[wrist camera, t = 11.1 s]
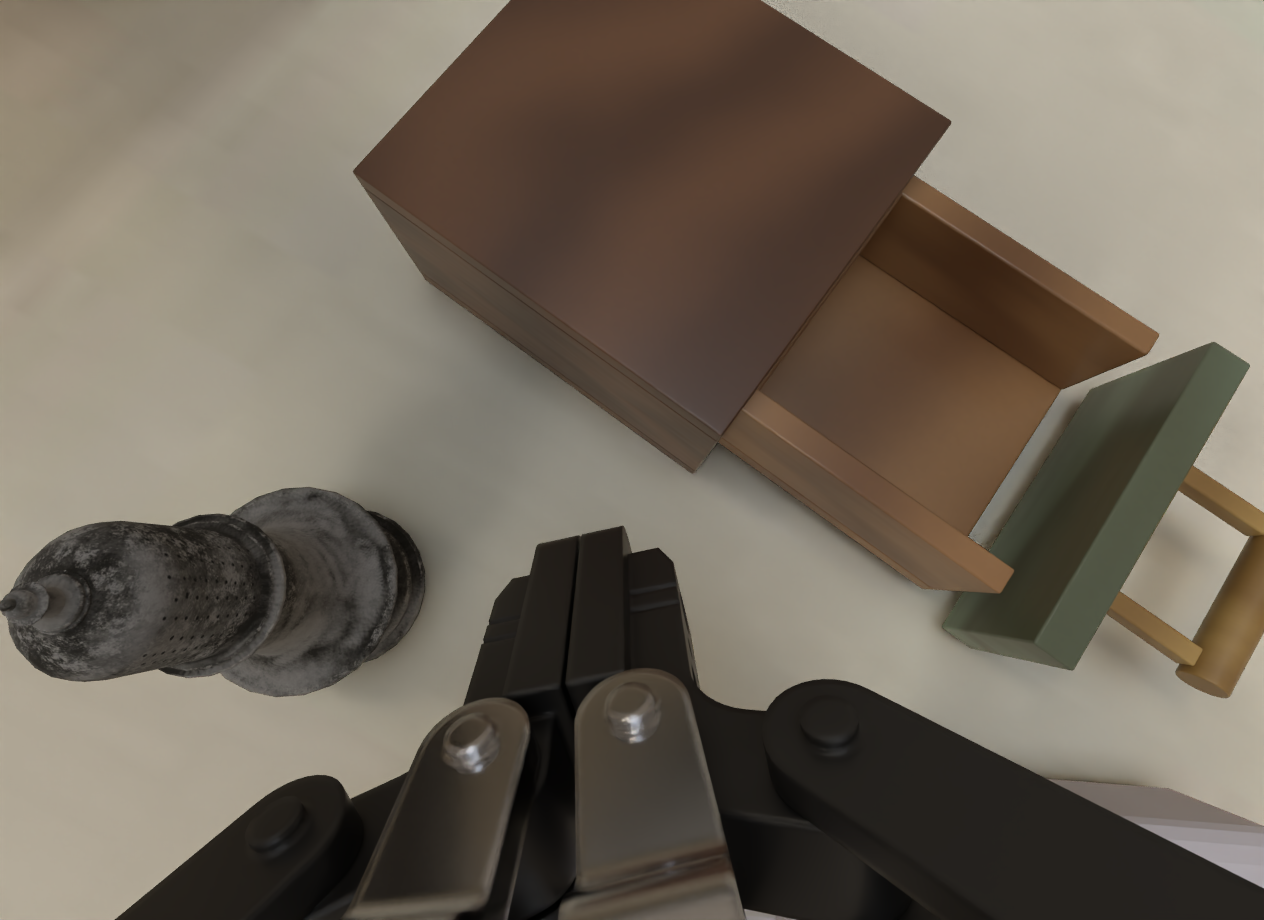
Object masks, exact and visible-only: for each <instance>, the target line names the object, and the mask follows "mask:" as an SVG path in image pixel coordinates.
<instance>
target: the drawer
mask: <svg viewBox="0 0 1264 920" xmlns="http://www.w3.org/2000/svg"><path fill="white" fill-rule="evenodd" d="M1158 337H1159V334H1158V333H1157V332H1156V331H1154V330H1152V329H1151V328H1149V327H1148V326H1146V325H1145V324H1143V323H1142V322H1140V321H1139V320H1137V319H1135V318H1134V317H1132V316H1131V315H1129V314H1128V313H1126V312H1125V311H1123V310H1122V309H1120V308H1118V307H1117V306H1115V305H1114V304H1112V303H1111V302H1109V301H1108V300H1106V299H1105V298H1103V297H1101V296H1100V295H1098V294H1097V293H1095V292H1094V291H1092V290H1091V289H1089V288H1088V287H1086V286H1084V285H1083V284H1081V283H1080V282H1078V281H1077V280H1075V279H1074V278H1072V277H1071V276H1069V275H1067V274H1066V273H1064V272H1063V271H1061V270H1060V269H1058V268H1057V267H1055V266H1054V265H1052V264H1050V263H1049V262H1047V261H1046V260H1044V259H1043V258H1041V257H1040V256H1038V255H1037V254H1035V253H1033V252H1032V251H1030V250H1029V249H1027V248H1026V247H1024V246H1023V245H1021V244H1020V243H1018V242H1016V241H1015V240H1013V239H1012V238H1010V237H1009V236H1007V235H1006V234H1004V233H1003V232H1001V231H999V230H998V229H996V228H995V227H993V226H992V225H990V224H989V223H987V222H986V221H984V220H982V219H981V218H979V217H978V216H976V215H975V214H973V213H972V212H970V211H969V210H967V209H965V208H964V207H962V206H961V205H959V204H958V203H956V202H955V201H953V200H952V199H950V198H948V197H947V196H945V195H944V194H942V193H941V192H939V191H938V190H936V189H935V188H933V187H931V186H930V185H928V184H927V183H925V182H924V181H922V180H921V179H919V178H918V177H916V176H914V175H913V177H912V178H911V179H910V181H909V182H908V183H907V185H906V186H905V187H904V189H903V190H902V192H901V193H900V194H899V196H898V197H897V198H896V200H895V201H894V202H893V204H892V205H891V207H890V208H889V209H888V211H887V212H886V213H885V215H884V216H883V217H882V219H881V220H880V222H879V223H878V224H877V226H876V227H875V228H874V230H873V231H872V232H871V234H870V235H869V237H868V238H867V239H866V241H865V242H864V243H863V245H862V246H861V247H860V249H859V250H858V252H857V253H856V254H855V256H854V257H853V258H852V260H851V261H850V262H849V264H848V265H847V267H846V268H845V269H844V271H843V272H842V273H841V275H840V276H839V277H838V279H837V280H836V282H835V283H834V284H833V286H832V287H831V288H830V290H829V291H828V292H827V294H826V295H825V297H824V298H823V299H822V301H821V302H820V303H819V305H818V306H817V307H816V309H815V310H814V312H813V313H812V314H811V316H810V317H809V318H808V320H807V321H806V322H805V324H804V325H803V327H802V328H801V329H800V331H799V332H798V333H797V335H796V336H795V337H794V339H793V340H792V342H791V343H790V344H789V346H788V347H787V348H786V350H785V351H784V352H783V354H782V355H781V357H780V358H779V359H778V361H777V362H776V363H775V365H774V366H773V367H772V369H771V370H770V372H769V373H768V374H767V376H766V377H765V378H764V380H763V381H762V382H761V384H760V385H759V387H758V388H757V389H756V391H755V392H754V393H753V395H752V396H751V397H750V399H749V400H748V402H747V403H746V404H745V406H744V407H743V408H742V410H741V411H740V412H739V414H738V415H737V417H736V418H735V419H734V421H733V422H732V423H731V425H730V426H729V427H728V429H727V430H726V432H725V433H724V434H723V436H722V437H721V438H720V440H719V441H718V442H719V443H720V444H721V445H723V446H724V447H726V448H727V449H728V450H730V451H731V452H733V453H734V454H735V455H737V456H738V457H740V458H741V459H742V460H744V461H745V462H746V463H748V464H749V465H751V466H752V467H753V468H755V469H756V470H758V471H759V472H760V473H762V474H763V475H765V476H766V477H767V478H769V479H770V480H771V481H773V482H774V483H776V484H777V485H778V486H780V487H781V488H783V489H784V490H785V491H787V492H788V493H790V494H791V495H792V496H794V497H795V498H797V499H798V500H799V501H801V502H802V503H803V504H805V505H806V506H808V507H809V508H810V509H812V510H813V511H815V512H816V513H817V514H819V515H820V516H822V517H823V518H824V519H826V520H827V521H829V522H830V523H831V524H833V525H834V526H835V527H837V528H838V529H840V530H841V531H842V532H844V533H845V534H847V535H848V536H849V537H851V538H852V539H854V540H855V541H856V542H858V543H859V544H861V545H862V546H863V547H865V548H866V549H867V550H869V551H870V552H872V553H873V554H874V555H876V556H877V557H879V558H880V559H881V560H883V561H884V562H886V563H887V564H888V565H890V566H891V567H893V568H894V569H895V570H897V571H898V572H899V573H901V574H902V575H904V576H905V577H906V578H908V579H909V580H911V581H912V582H913V583H915V584H916V585H918V586H919V587H920V588H922V589H934V590H947V591H964V592H963V593H962V595H961V596H960V598H959V600H958V601H957V603H956V604H955V606H954V608H953V609H952V611H951V612H950V614H949V616H948V617H947V619H946V620H945V622H944V623H943V625H942V627H943V629H945V630H946V631H948V632H949V633H950V634H952V635H953V636H955V637H956V638H957V639H959V640H960V641H961V642H963V643H964V644H966V645H967V646H968V647H970V648H972V649H977V650H981V651H986V652H990V653H995V654H999V655H1004V656H1008V657H1013V658H1017V659H1022V660H1027V661H1031V662H1036V663H1040V664H1045V665H1049V666H1054V667H1058V668H1063V669H1067V670H1074V668H1075V667H1076V665H1077V663H1078V662H1079V660H1080V658H1081V656H1082V655H1083V653H1084V651H1085V650H1086V648H1087V646H1088V644H1089V643H1090V641H1091V639H1092V637H1093V636H1094V634H1095V632H1096V631H1097V629H1098V627H1099V625H1100V624H1101V622H1102V620H1103V619H1104V617H1105V615H1106V614H1107V615H1109V616H1110V617H1111V618H1113V619H1114V620H1116V621H1117V622H1119V623H1120V624H1121V625H1123V626H1124V627H1126V628H1127V629H1129V630H1130V631H1131V632H1133V633H1134V634H1136V635H1137V636H1139V637H1140V638H1141V639H1143V640H1144V641H1146V642H1147V643H1148V644H1150V645H1151V646H1153V647H1154V648H1156V649H1157V650H1158V651H1160V652H1161V653H1163V654H1164V655H1166V656H1167V657H1168V658H1170V659H1171V660H1173V661H1174V662H1176V663H1179V666H1178V667H1177V669H1176V671H1175V673H1176V675H1177V676H1178V677H1179V678H1180V679H1181V680H1182V681H1184V682H1185V683H1187V684H1188V685H1190V686H1192V687H1194V688H1196V689H1198V690H1200V691H1202V692H1204V693H1207V694H1210V695H1213V696H1216V697H1220V698H1228V697H1230V695H1231V693H1232V691H1233V690H1234V688H1235V686H1236V684H1237V682H1238V680H1239V678H1240V676H1241V674H1242V673H1243V671H1244V669H1245V667H1246V665H1247V663H1248V661H1249V659H1250V658H1251V656H1252V654H1253V652H1254V650H1255V648H1256V646H1257V644H1258V642H1259V641H1260V639H1261V637H1262V635H1263V633H1264V513H1263V512H1262V511H1260V510H1259V509H1257V508H1256V507H1254V506H1253V505H1251V504H1250V503H1248V502H1247V501H1245V500H1244V499H1242V498H1241V497H1239V496H1238V495H1236V494H1235V493H1233V492H1232V491H1230V490H1229V489H1227V488H1226V487H1224V486H1223V485H1221V484H1220V483H1218V482H1217V481H1215V480H1214V479H1212V478H1211V477H1209V476H1208V475H1206V474H1205V473H1203V472H1202V471H1200V470H1199V469H1197V468H1196V467H1194V466H1193V464H1194V462H1195V460H1196V458H1197V457H1198V455H1199V453H1200V452H1201V450H1202V448H1203V446H1204V445H1205V443H1206V441H1207V440H1208V438H1209V436H1210V434H1211V433H1212V431H1213V429H1214V427H1215V426H1216V424H1217V422H1218V421H1219V419H1220V417H1221V415H1222V414H1223V412H1224V410H1225V409H1226V407H1227V405H1228V403H1229V402H1230V400H1231V398H1232V396H1233V395H1234V393H1235V391H1236V390H1237V388H1238V386H1239V384H1240V383H1241V381H1242V379H1243V378H1244V376H1245V374H1246V372H1247V371H1248V369H1249V367H1250V365H1249V364H1248V363H1247V362H1245V361H1244V360H1242V359H1241V358H1239V357H1237V356H1236V355H1234V354H1233V353H1231V352H1230V351H1228V350H1227V349H1225V348H1223V347H1222V346H1220V345H1219V344H1217V343H1216V342H1211V343H1209V344H1206V345H1203V346H1201V347H1198V348H1196V349H1193V350H1191V351H1188V352H1185V353H1183V354H1180V355H1178V356H1175V357H1172V358H1170V359H1167V360H1165V361H1162V362H1160V363H1157V364H1154V365H1152V366H1149V367H1147V368H1144V369H1141V370H1139V371H1136V372H1134V373H1131V374H1129V375H1126V376H1123V377H1121V378H1118V379H1116V380H1113V381H1111V382H1108V383H1105V384H1103V385H1100V386H1098V387H1095V388H1092V389H1091V390H1090V391H1089V392H1088V394H1087V396H1086V397H1085V399H1084V400H1083V402H1082V404H1081V405H1080V407H1079V408H1078V410H1077V411H1076V413H1075V415H1074V416H1073V418H1072V419H1071V421H1070V423H1069V424H1068V426H1067V427H1066V429H1065V431H1064V432H1063V434H1062V435H1061V437H1060V439H1059V440H1058V442H1057V443H1056V445H1055V447H1054V448H1053V450H1052V451H1051V453H1050V455H1049V456H1048V458H1047V459H1046V461H1045V462H1044V464H1043V466H1042V467H1041V469H1040V470H1039V472H1038V474H1037V475H1036V477H1035V478H1034V480H1033V482H1032V483H1031V485H1030V486H1029V488H1028V490H1027V491H1026V493H1025V494H1024V496H1023V498H1022V499H1021V501H1020V502H1019V504H1018V506H1017V507H1016V509H1015V510H1014V512H1013V513H1012V515H1011V517H1010V518H1009V520H1008V521H1007V523H1006V525H1005V526H1004V528H1003V529H1002V531H1001V533H1000V534H999V536H998V537H997V539H996V541H995V542H994V544H993V545H992V547H991V549H990V550H989V551H987V550H986V549H984V548H983V547H982V546H980V545H979V544H977V543H976V542H974V541H973V540H972V539H970V538H969V537H968V535H969V534H970V532H971V531H972V529H973V527H974V526H975V524H976V523H977V521H978V520H979V518H980V516H981V515H982V513H983V512H984V510H985V509H986V507H987V505H988V504H989V502H990V501H991V499H992V498H993V496H994V494H995V493H996V491H997V490H998V488H999V487H1000V485H1001V483H1002V482H1003V480H1004V479H1005V477H1006V476H1007V474H1008V472H1009V471H1010V469H1011V468H1012V466H1013V465H1014V463H1015V461H1016V460H1017V458H1018V457H1019V455H1020V454H1021V452H1022V450H1023V449H1024V447H1025V446H1026V444H1027V443H1028V441H1029V439H1030V438H1031V436H1032V435H1033V433H1034V432H1035V430H1036V428H1037V427H1038V425H1039V424H1040V422H1041V421H1042V419H1043V418H1044V416H1045V414H1046V413H1047V411H1048V410H1049V408H1050V407H1051V405H1052V403H1053V402H1054V400H1055V399H1056V397H1057V396H1058V394H1059V392H1060V391H1061V389H1065V388H1067V387H1070V386H1072V385H1075V384H1077V383H1080V382H1082V381H1084V380H1087V379H1089V378H1092V377H1094V376H1097V375H1099V374H1101V373H1104V372H1106V371H1109V370H1111V369H1114V368H1116V367H1119V366H1121V365H1123V364H1126V363H1128V362H1131V361H1133V360H1136V359H1138V358H1140V357H1143V356H1145V355H1147V354H1148V353H1149V351H1150V350H1151V348H1152V347H1153V345H1154V343H1155V342H1156V340H1157V339H1158ZM1177 491H1180V492H1181V493H1183V494H1184V495H1186V496H1187V497H1189V498H1190V499H1192V500H1193V501H1195V502H1196V503H1198V504H1199V505H1201V506H1202V507H1204V508H1205V509H1207V510H1208V511H1210V512H1211V513H1213V514H1214V515H1216V516H1217V517H1219V518H1220V519H1222V520H1223V521H1225V522H1226V523H1228V524H1229V525H1231V526H1232V527H1234V528H1235V529H1237V530H1238V531H1239V532H1241V533H1242V534H1244V535H1246V536H1250V537H1249V539H1248V540H1247V542H1246V544H1245V546H1244V548H1243V549H1242V551H1241V553H1240V555H1239V557H1238V558H1237V560H1236V562H1235V564H1234V566H1233V568H1232V569H1231V571H1230V573H1229V575H1228V577H1227V578H1226V580H1225V582H1224V584H1223V586H1222V588H1221V589H1220V591H1219V593H1218V595H1217V597H1216V598H1215V600H1214V602H1213V604H1212V606H1211V607H1210V609H1209V611H1208V613H1207V615H1206V617H1205V618H1204V620H1203V622H1202V624H1201V626H1200V627H1199V629H1198V631H1197V633H1196V635H1195V636H1194V638H1193V640H1192V641H1191V640H1189V639H1188V638H1186V637H1185V636H1183V635H1182V634H1181V633H1179V632H1178V631H1176V630H1175V629H1173V628H1172V627H1171V626H1169V625H1168V624H1166V623H1165V622H1163V621H1162V620H1160V619H1159V618H1158V617H1156V616H1155V615H1153V614H1152V613H1150V612H1149V611H1147V610H1146V609H1145V608H1143V607H1142V606H1140V605H1139V604H1137V603H1136V602H1135V601H1133V600H1132V599H1130V598H1129V597H1127V596H1126V595H1124V594H1123V593H1122V592H1120V589H1121V588H1122V586H1123V584H1124V582H1125V581H1126V579H1127V577H1128V575H1129V574H1130V572H1131V570H1132V569H1133V567H1134V565H1135V563H1136V562H1137V560H1138V558H1139V557H1140V555H1141V553H1142V551H1143V550H1144V548H1145V546H1146V545H1147V543H1148V541H1149V539H1150V538H1151V536H1152V534H1153V532H1154V531H1155V529H1156V527H1157V526H1158V524H1159V522H1160V520H1161V519H1162V517H1163V515H1164V514H1165V512H1166V510H1167V508H1168V507H1169V505H1170V503H1171V501H1172V500H1173V498H1174V496H1175V495H1176V493H1177Z"/></svg>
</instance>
